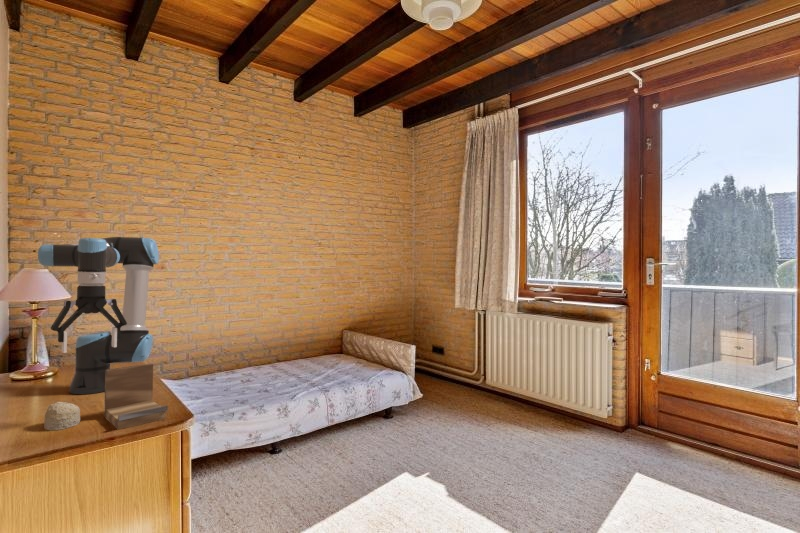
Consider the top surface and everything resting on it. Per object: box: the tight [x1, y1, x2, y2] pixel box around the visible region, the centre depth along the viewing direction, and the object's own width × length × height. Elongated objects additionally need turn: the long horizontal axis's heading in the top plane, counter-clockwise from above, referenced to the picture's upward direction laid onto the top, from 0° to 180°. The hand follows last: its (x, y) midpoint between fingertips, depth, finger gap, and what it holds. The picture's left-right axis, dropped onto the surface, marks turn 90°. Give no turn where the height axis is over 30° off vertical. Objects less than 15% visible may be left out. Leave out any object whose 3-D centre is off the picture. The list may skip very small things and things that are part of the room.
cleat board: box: [103, 363, 169, 431], centre depth 141 cm, size 17×14×16 cm
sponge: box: [43, 401, 81, 431], centre depth 134 cm, size 9×10×10 cm
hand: (90, 349), depth 138 cm, fingers open, 13 cm apart
